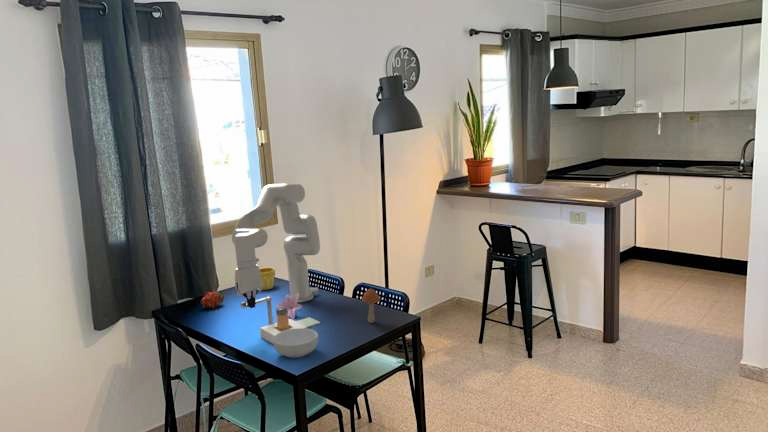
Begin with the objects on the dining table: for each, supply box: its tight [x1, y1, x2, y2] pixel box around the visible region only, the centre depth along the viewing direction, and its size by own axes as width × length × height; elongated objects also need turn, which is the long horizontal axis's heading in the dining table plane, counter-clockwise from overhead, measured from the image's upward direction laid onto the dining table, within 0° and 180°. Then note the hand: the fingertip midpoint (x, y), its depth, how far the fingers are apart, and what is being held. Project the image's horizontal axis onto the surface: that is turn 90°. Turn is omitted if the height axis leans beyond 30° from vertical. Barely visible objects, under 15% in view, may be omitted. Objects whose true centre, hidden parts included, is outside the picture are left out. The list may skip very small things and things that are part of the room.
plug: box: [275, 307, 289, 331], centre depth 242 cm, size 5×5×12 cm
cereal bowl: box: [273, 328, 319, 359], centre depth 225 cm, size 17×17×7 cm
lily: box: [275, 293, 303, 320], centre depth 267 cm, size 12×12×10 cm
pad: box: [295, 316, 321, 329], centre depth 256 cm, size 9×9×1 cm
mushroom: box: [361, 287, 381, 324], centre depth 252 cm, size 8×8×15 cm
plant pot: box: [259, 267, 276, 291], centre depth 311 cm, size 10×10×10 cm
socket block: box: [259, 300, 308, 345], centre depth 244 cm, size 14×20×13 cm
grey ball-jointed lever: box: [240, 295, 273, 309], centre depth 245 cm, size 14×3×2 cm, turn 136°
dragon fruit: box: [199, 290, 225, 309], centre depth 286 cm, size 8×8×12 cm
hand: (251, 306), depth 240 cm, fingers closed
